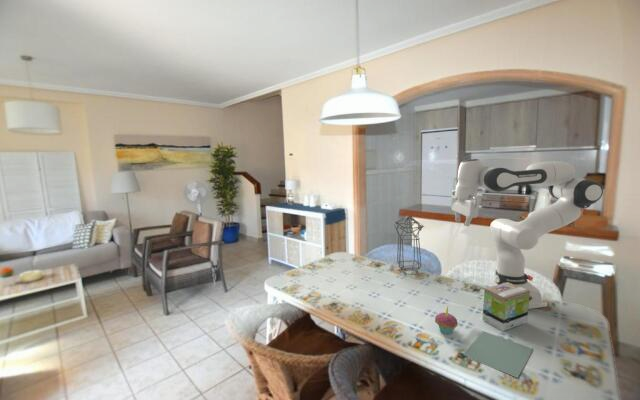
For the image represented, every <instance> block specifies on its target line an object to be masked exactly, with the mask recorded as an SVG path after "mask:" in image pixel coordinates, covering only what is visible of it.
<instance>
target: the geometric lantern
mask: <svg viewBox="0 0 640 400" xmlns="http://www.w3.org/2000/svg"><path fill="white" fill-rule="evenodd" d="M411 221H412V222H411ZM415 224H416V225H417V227H413V226H414V225H415ZM393 225H394V228H395V230H396V234H397V251H398V252H397V255H396V257H397V258H396V261H397V262H396V263H397V265H398V268H399V269H401V271H402V273H403V274H404V275H406V272H413V273H412V275H418V274H419V273H418V271H419V270H420V269H421V268H422V267H423V266H422V259H421V257H422V256H421V248H420V247H421V245H420V237H419V235H420V232H421V231H422V229H423V228H425V226H424V224H422V223H420V222H419V221H417V220H416V219H415V218H413V217H412V216H410V215H406V216H404V217H403V218H401V219H399V220H397V221H396V222H394V223H393ZM408 225H409V226H408ZM399 229H400V230H402V232H401V234H400V232H399ZM405 229H406V230H405ZM408 229H409V230H408ZM416 231H417V233H416V234H415V232H416ZM404 233H405V234H404ZM411 233H412V234H411ZM405 236H406V237H407V236H413V239H412V238H411V239H410V238H409V239H404V237H405ZM404 241H413V263H412V265H411V266H408V265H405V262H411V260H404ZM415 247H416V252H415ZM401 251H402V254H401ZM415 253H416V254H415ZM401 256H402V257H401ZM415 256H416V258H417V260H416V259H415ZM401 258H402V260H401ZM415 263H416V264H415ZM416 265H417V267H416ZM414 271H415V273H414Z"/></svg>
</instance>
